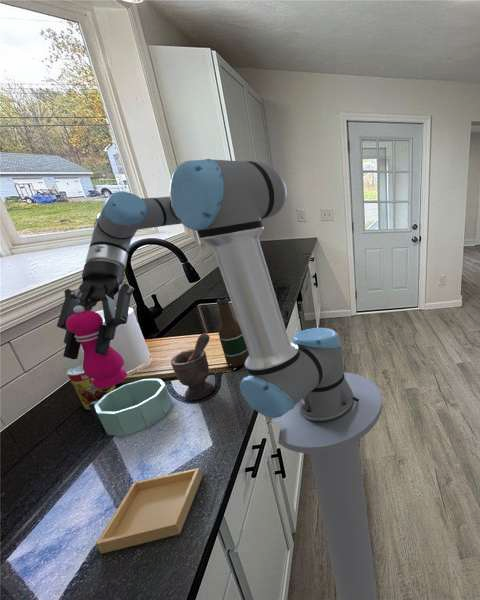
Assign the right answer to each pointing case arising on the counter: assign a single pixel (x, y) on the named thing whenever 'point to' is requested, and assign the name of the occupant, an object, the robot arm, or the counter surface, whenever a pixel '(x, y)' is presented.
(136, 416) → the green faceted bowl
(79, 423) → the counter surface
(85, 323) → the pepper mill
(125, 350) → the canister
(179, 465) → the counter surface
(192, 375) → the mortar and pestle
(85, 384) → the canned food
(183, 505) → the tray
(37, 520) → the counter surface
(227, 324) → the beer bottle
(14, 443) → the counter surface
